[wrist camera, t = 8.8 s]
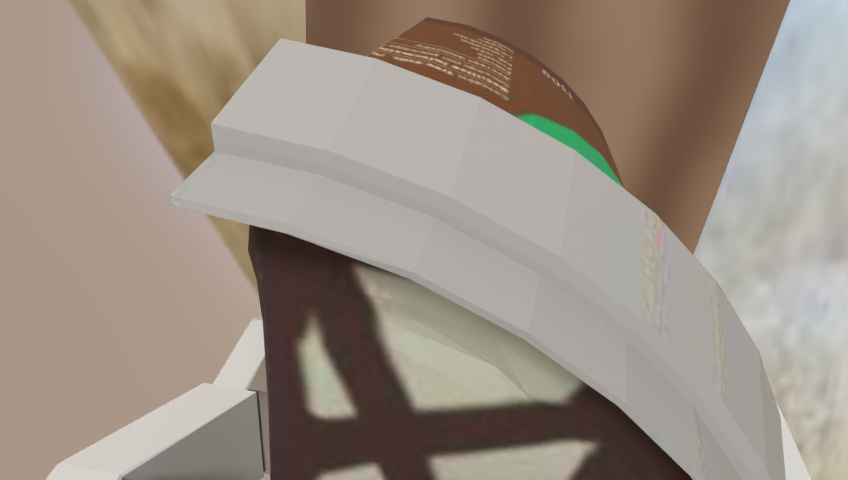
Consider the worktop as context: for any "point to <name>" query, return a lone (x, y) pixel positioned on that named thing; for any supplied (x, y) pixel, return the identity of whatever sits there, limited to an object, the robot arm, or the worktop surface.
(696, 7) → the walnut base
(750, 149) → the worktop surface
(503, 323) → the food container
